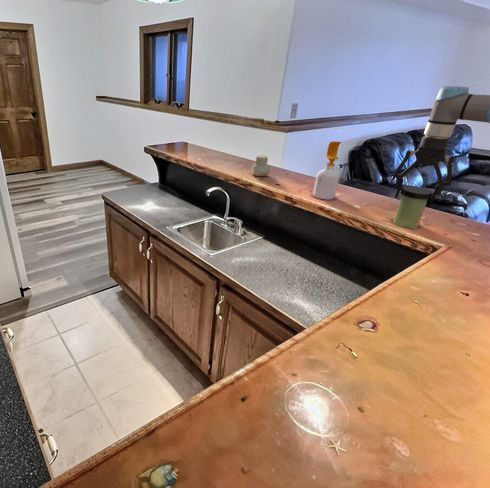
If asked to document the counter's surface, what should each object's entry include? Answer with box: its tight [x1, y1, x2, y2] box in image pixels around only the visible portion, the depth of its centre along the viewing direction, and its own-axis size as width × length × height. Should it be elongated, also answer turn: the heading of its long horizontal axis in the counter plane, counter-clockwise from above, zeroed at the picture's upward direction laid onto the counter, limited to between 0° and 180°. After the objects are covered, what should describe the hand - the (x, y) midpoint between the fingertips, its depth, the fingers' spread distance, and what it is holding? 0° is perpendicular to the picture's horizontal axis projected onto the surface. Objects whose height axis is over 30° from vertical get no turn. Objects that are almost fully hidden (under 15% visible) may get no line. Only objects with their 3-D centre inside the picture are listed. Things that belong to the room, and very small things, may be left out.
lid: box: [400, 185, 434, 200], centre depth 125 cm, size 9×9×2 cm
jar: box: [392, 194, 429, 229], centre depth 128 cm, size 8×8×13 cm
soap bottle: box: [312, 140, 343, 201], centre depth 152 cm, size 9×9×25 cm
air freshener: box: [250, 154, 271, 177], centre depth 186 cm, size 11×8×10 cm
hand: (413, 199), depth 127 cm, fingers open, 10 cm apart
